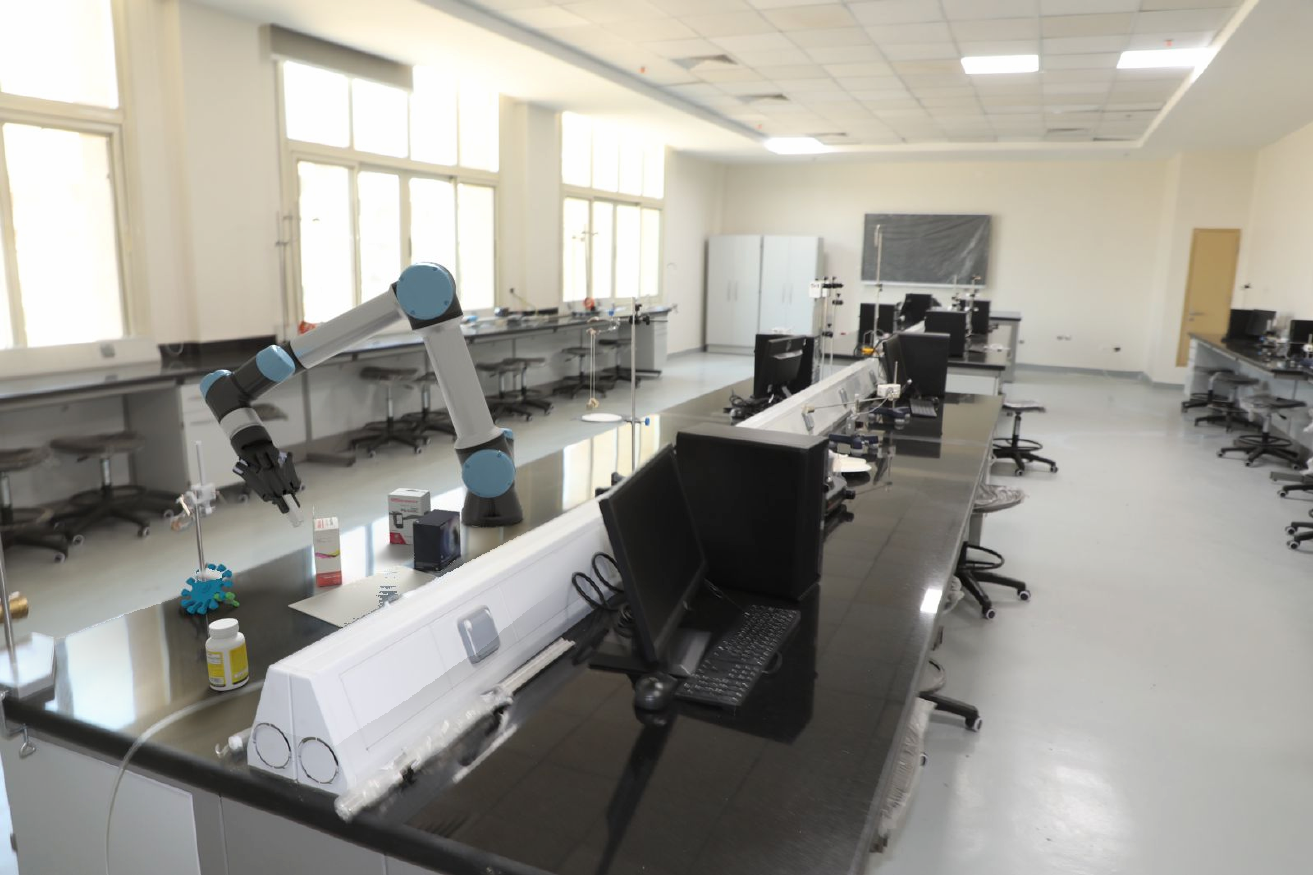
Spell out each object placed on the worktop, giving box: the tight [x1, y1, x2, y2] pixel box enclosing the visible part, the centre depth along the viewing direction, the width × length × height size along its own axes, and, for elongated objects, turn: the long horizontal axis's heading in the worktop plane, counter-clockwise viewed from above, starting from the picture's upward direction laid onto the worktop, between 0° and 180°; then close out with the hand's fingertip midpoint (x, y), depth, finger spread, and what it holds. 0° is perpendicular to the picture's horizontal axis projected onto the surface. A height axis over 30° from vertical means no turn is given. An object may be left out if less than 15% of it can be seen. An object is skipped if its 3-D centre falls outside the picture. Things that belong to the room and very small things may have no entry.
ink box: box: [387, 487, 432, 546], centre depth 193 cm, size 9×5×12 cm, turn 78°
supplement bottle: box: [205, 617, 250, 692], centre depth 128 cm, size 5×5×10 cm
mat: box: [287, 564, 437, 628], centre depth 163 cm, size 26×18×1 cm
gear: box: [180, 563, 240, 615], centre depth 158 cm, size 11×6×10 cm
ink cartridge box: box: [312, 505, 343, 588], centre depth 170 cm, size 9×5×15 cm, turn 23°
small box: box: [412, 508, 462, 573], centre depth 180 cm, size 11×6×10 cm, turn 168°
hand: (299, 523), depth 174 cm, fingers closed
